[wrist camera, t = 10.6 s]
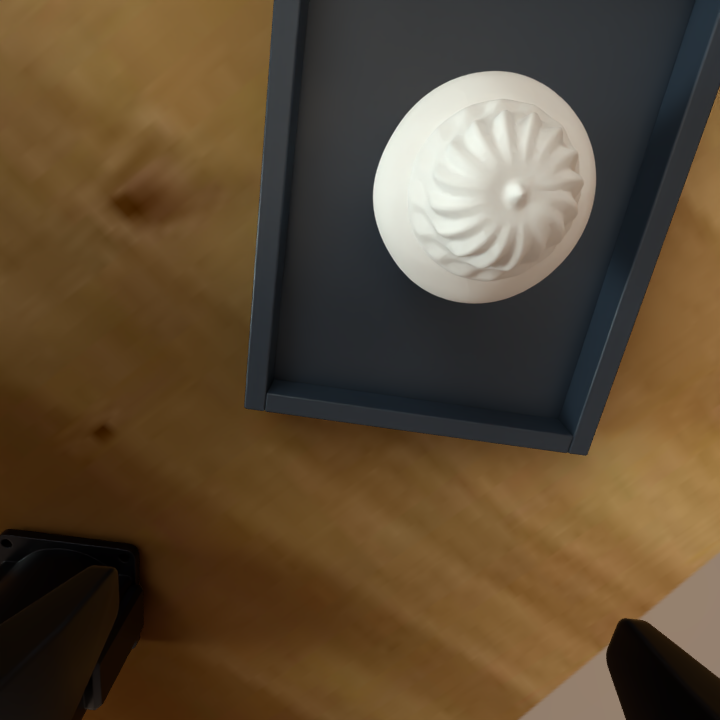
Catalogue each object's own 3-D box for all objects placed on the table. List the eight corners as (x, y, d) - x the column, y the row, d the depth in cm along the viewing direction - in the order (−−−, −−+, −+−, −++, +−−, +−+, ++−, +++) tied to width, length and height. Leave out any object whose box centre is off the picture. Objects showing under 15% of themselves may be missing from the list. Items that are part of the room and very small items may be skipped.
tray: (256, 388, 19) (243, 409, 17) (299, -148, 14) (288, -208, 12) (565, 431, 20) (587, 456, 18) (731, -65, 14) (791, -109, 12)
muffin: (370, 283, 17) (374, 333, 11) (371, 101, 15) (377, 21, 9) (533, 284, 17) (641, 333, 10) (556, 100, 15) (707, 19, 8)
